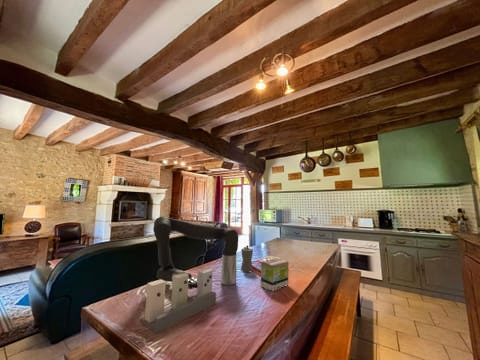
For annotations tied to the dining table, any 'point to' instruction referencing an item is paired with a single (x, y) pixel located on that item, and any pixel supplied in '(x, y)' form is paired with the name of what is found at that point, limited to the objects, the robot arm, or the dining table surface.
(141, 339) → the dining table surface
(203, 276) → the tile three
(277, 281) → the tea box
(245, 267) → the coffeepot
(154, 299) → the tile one
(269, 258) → the candle holder
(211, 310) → the dining table surface
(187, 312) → the tile stand
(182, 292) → the tile two
